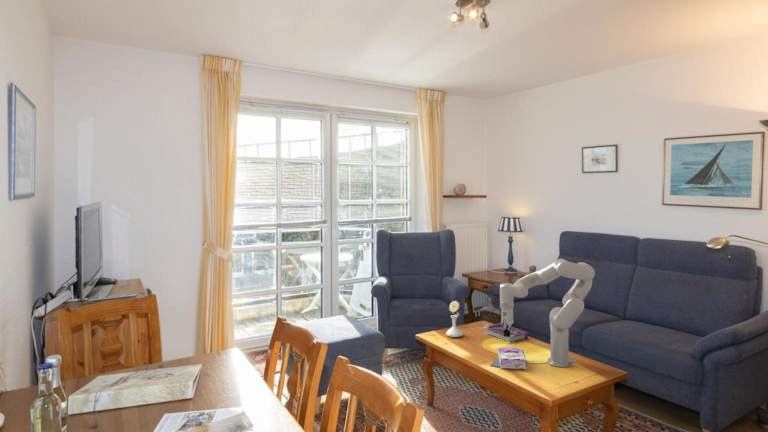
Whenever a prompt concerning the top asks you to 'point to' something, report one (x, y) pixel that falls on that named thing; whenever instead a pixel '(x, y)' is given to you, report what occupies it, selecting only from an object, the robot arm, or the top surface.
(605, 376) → the top surface
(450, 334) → the flower in vase
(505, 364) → the candy box
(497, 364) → the mat
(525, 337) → the book
